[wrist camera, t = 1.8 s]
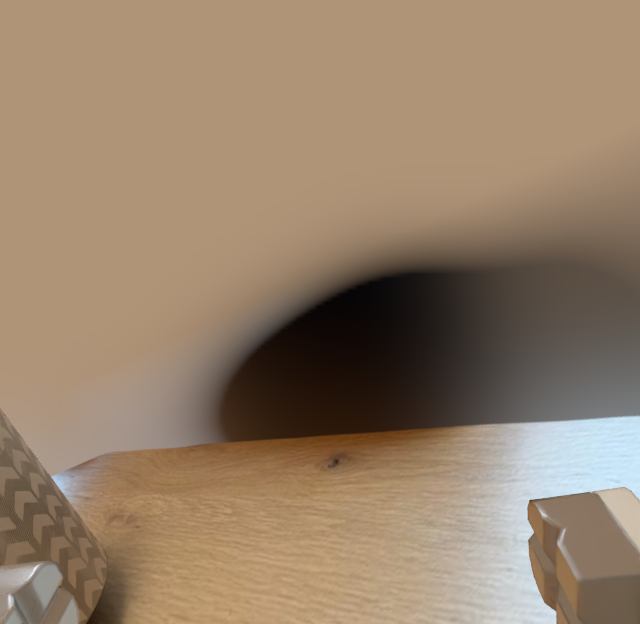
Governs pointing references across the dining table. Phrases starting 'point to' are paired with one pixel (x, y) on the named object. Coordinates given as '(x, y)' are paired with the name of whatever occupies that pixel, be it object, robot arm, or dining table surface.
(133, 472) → the dining table surface
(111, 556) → the dining table surface
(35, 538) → the planter
